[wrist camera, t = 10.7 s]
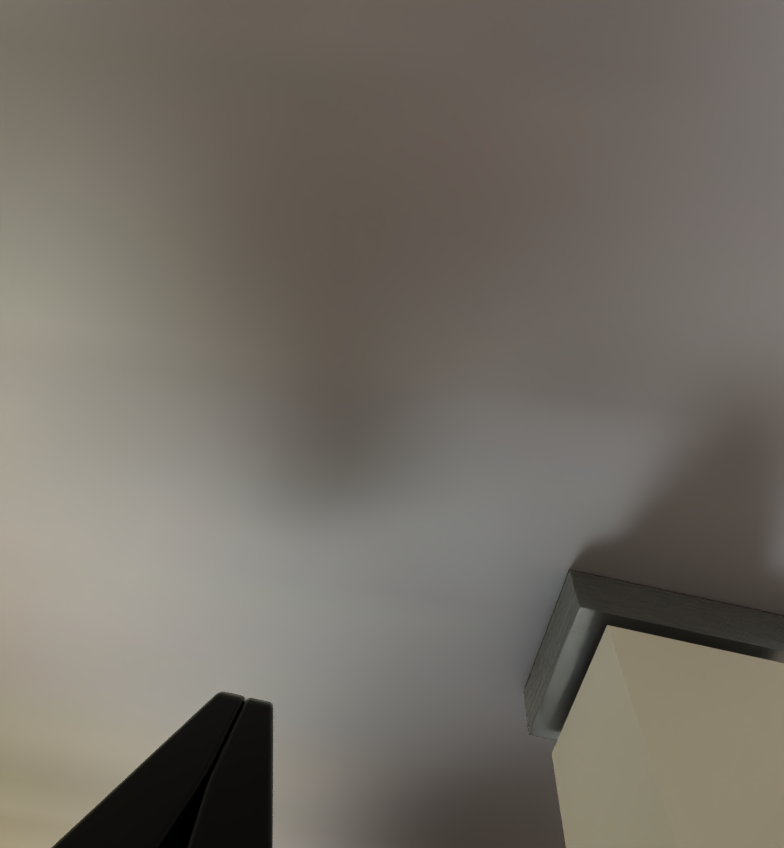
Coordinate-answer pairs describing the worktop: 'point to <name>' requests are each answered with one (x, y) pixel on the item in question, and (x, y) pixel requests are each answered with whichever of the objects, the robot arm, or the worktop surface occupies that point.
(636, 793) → the block
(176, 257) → the worktop surface
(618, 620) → the ram rail
